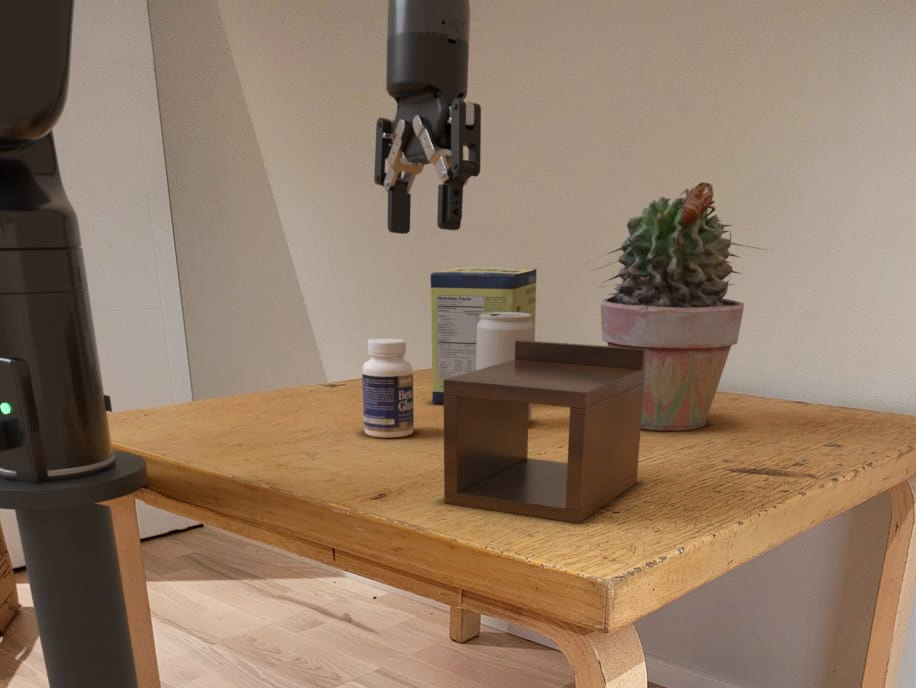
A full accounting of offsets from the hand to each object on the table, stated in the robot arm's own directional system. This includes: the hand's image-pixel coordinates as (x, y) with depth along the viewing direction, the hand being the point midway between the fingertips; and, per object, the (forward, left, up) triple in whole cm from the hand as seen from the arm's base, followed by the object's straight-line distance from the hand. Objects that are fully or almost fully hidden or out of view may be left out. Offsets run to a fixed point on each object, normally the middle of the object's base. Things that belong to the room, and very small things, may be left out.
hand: (423, 231), depth 93 cm
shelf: (-13, -19, -20) cm, 31 cm away
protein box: (+27, +7, -21) cm, 35 cm away
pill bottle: (+1, +5, -21) cm, 21 cm away
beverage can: (+12, -3, -21) cm, 24 cm away
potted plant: (+22, -18, -21) cm, 35 cm away
